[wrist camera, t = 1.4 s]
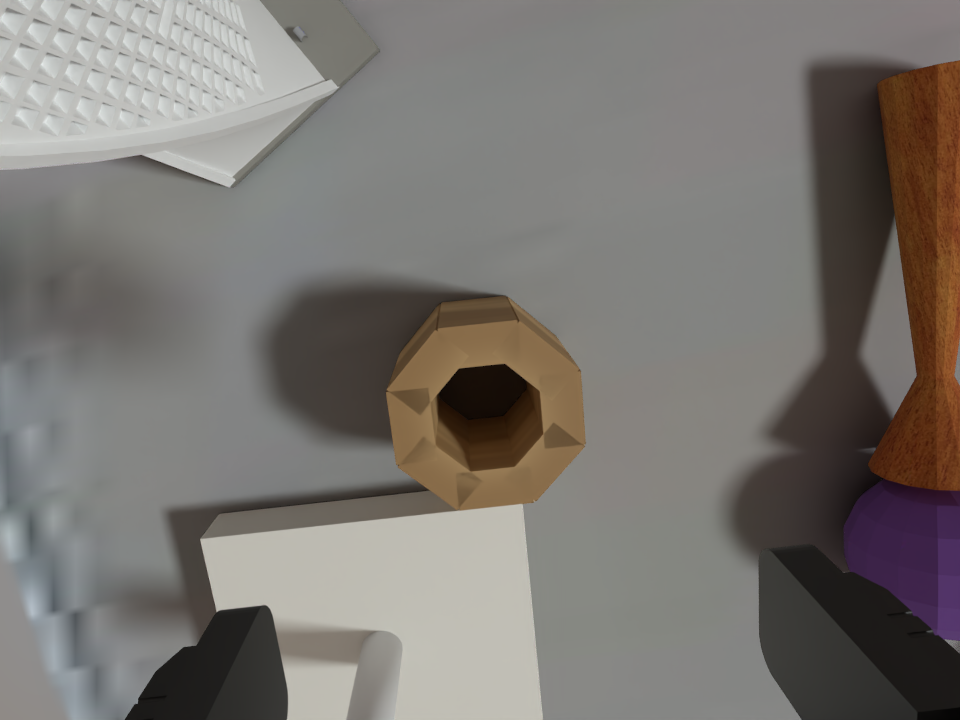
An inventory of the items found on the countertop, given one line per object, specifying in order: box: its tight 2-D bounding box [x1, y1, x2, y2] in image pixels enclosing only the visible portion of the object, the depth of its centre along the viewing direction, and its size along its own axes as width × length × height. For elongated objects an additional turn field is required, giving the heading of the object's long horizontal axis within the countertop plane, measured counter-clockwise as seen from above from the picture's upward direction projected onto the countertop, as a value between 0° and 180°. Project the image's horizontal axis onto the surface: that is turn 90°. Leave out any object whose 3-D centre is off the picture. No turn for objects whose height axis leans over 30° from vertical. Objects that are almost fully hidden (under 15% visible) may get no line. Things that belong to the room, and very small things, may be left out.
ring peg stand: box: [200, 491, 543, 720], centre depth 22 cm, size 11×12×11 cm
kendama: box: [844, 60, 960, 641], centre depth 23 cm, size 6×6×20 cm
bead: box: [386, 296, 586, 511], centre depth 23 cm, size 6×6×5 cm
